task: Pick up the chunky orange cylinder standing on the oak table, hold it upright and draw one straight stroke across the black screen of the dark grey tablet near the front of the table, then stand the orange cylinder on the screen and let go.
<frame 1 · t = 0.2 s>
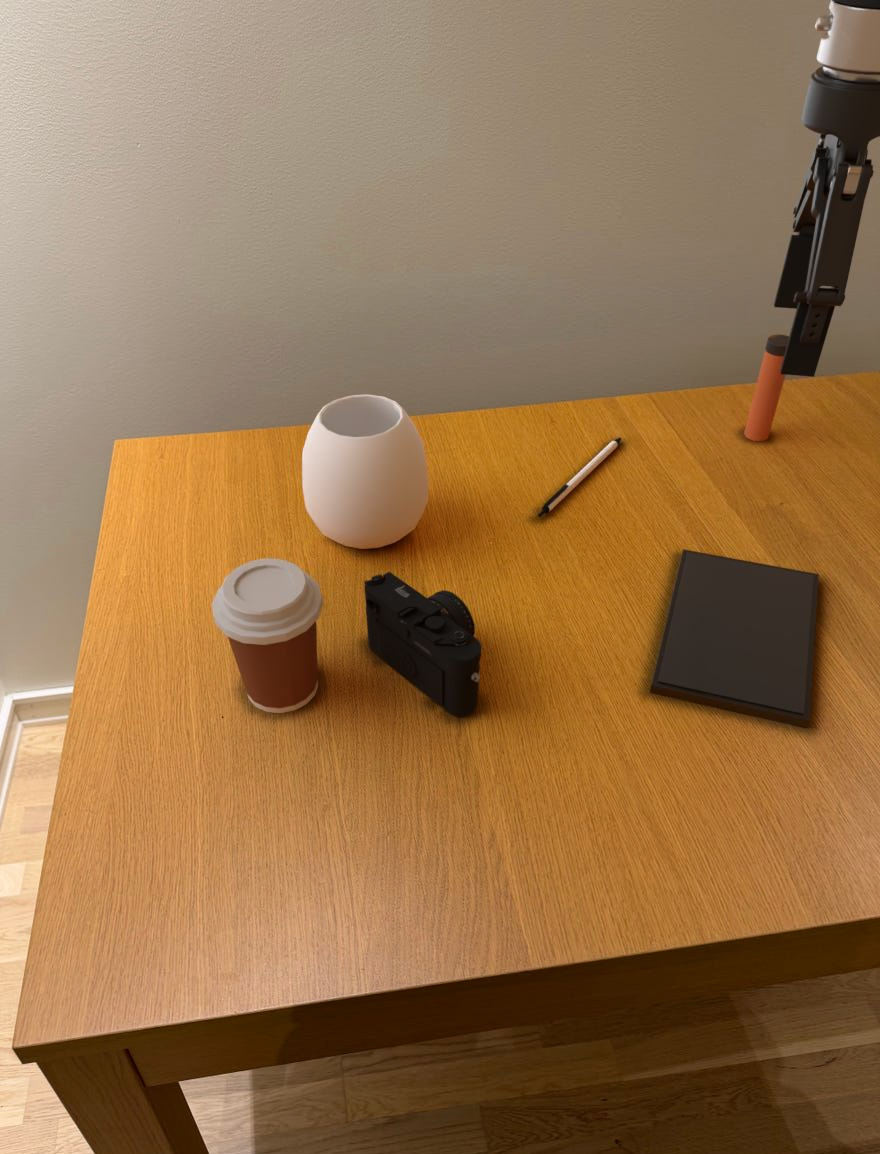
hand: (792, 338, 84), 21 cm above the table, tool pointing down, fingers open, 13 cm apart
orange cylinder: (756, 435, 110), on the table
white vase: (368, 527, 100), on the table
pen: (581, 479, 105), on the table
camera: (435, 667, 84), on the table
tablet: (737, 633, 85), on the table
coffee cup: (282, 687, 83), on the table
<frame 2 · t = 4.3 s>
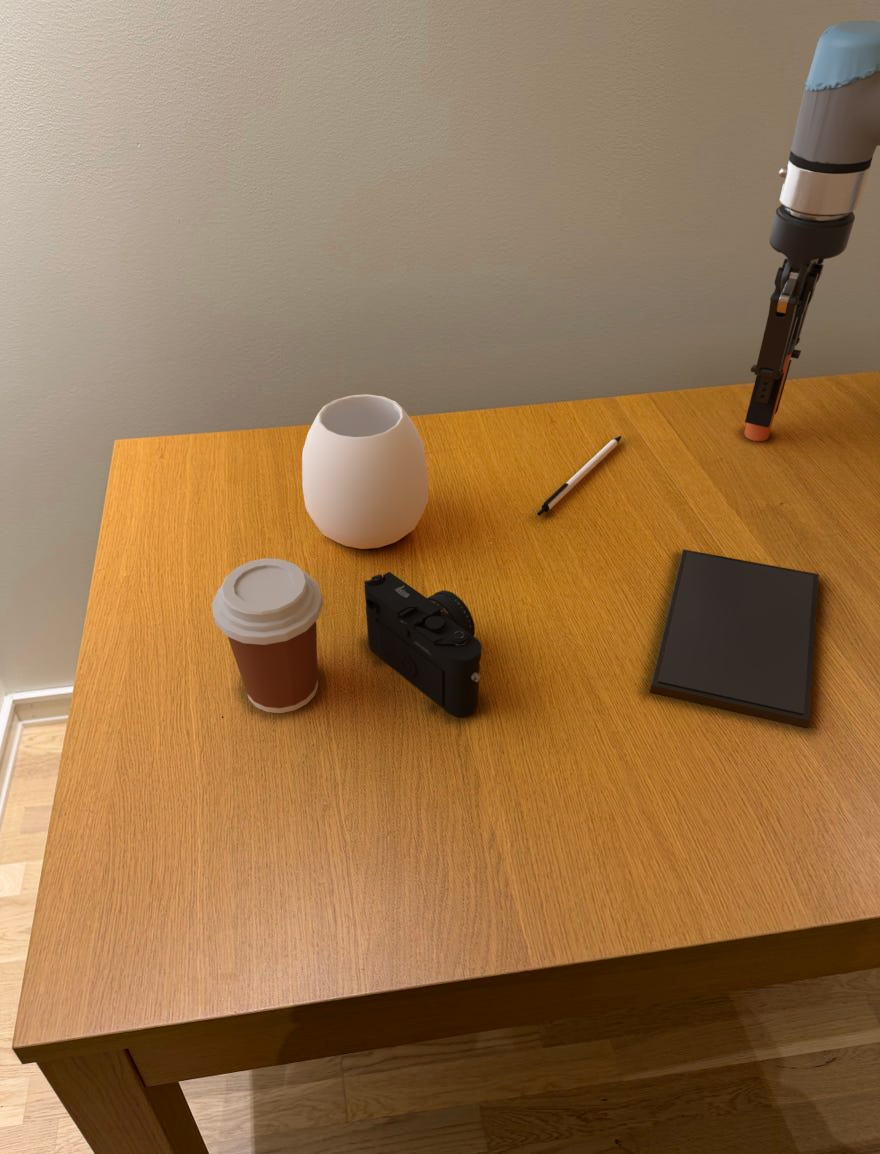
hand: (761, 416, 108), 3 cm above the table, tool pointing down, fingers closed on orange cylinder, 3 cm apart
orange cylinder: (756, 435, 110), on the table, touching gripper
everything else where it was.
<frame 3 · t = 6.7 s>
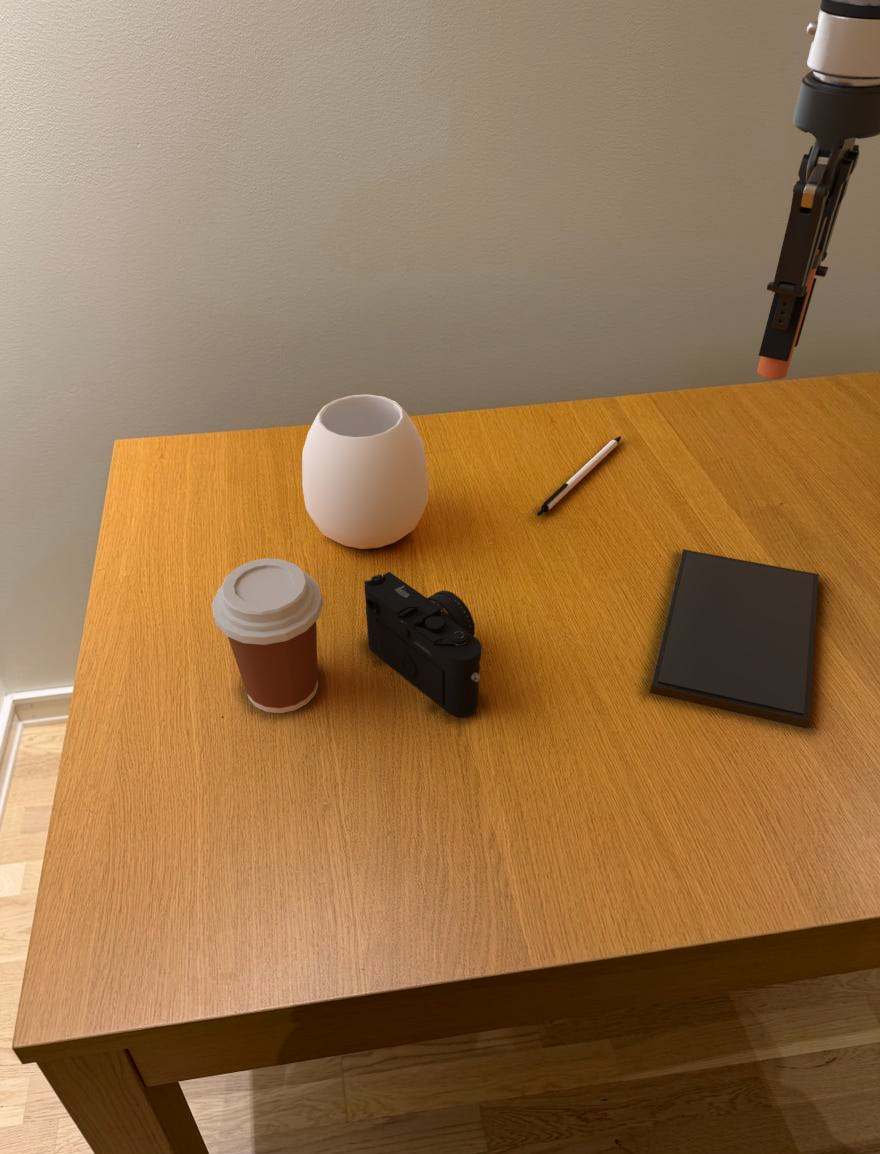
hand: (778, 349, 90), 17 cm above the table, tool pointing down, fingers closed on orange cylinder, 3 cm apart
orange cylinder: (771, 373, 92), point 14 cm above the table, touching gripper
everything else where it was.
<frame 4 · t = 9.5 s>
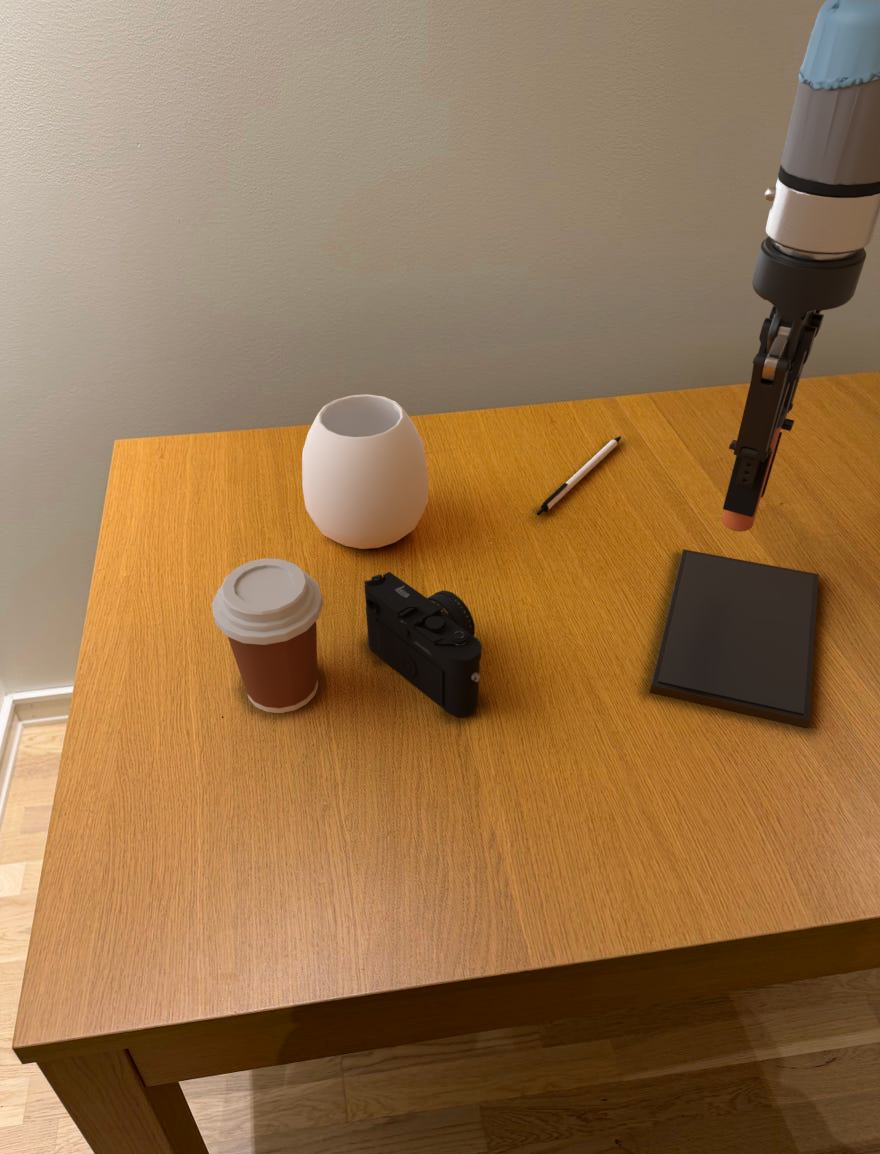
hand: (743, 500, 85), 9 cm above the table, tool pointing down, fingers closed on orange cylinder, 3 cm apart
orange cylinder: (737, 522, 87), point 7 cm above the table, touching gripper
everything else where it was.
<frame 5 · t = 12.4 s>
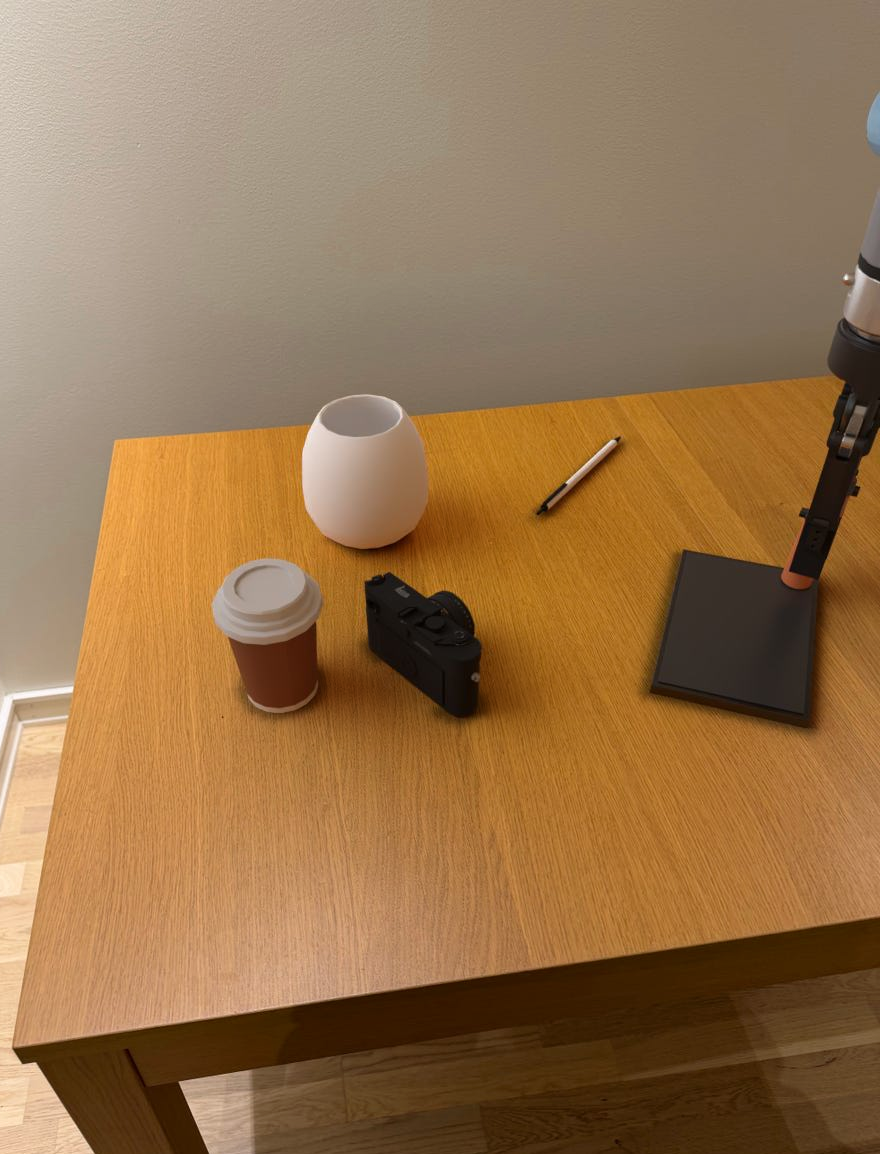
hand: (808, 562, 87), 4 cm above the table, tool pointing down, fingers closed on orange cylinder, 3 cm apart
orange cylinder: (796, 580, 89), point 1 cm above the table, touching gripper
everything else where it was.
when the fingers open (4 cm above the table, at t = 14.7 s): orange cylinder stays where it is, resting on tablet.
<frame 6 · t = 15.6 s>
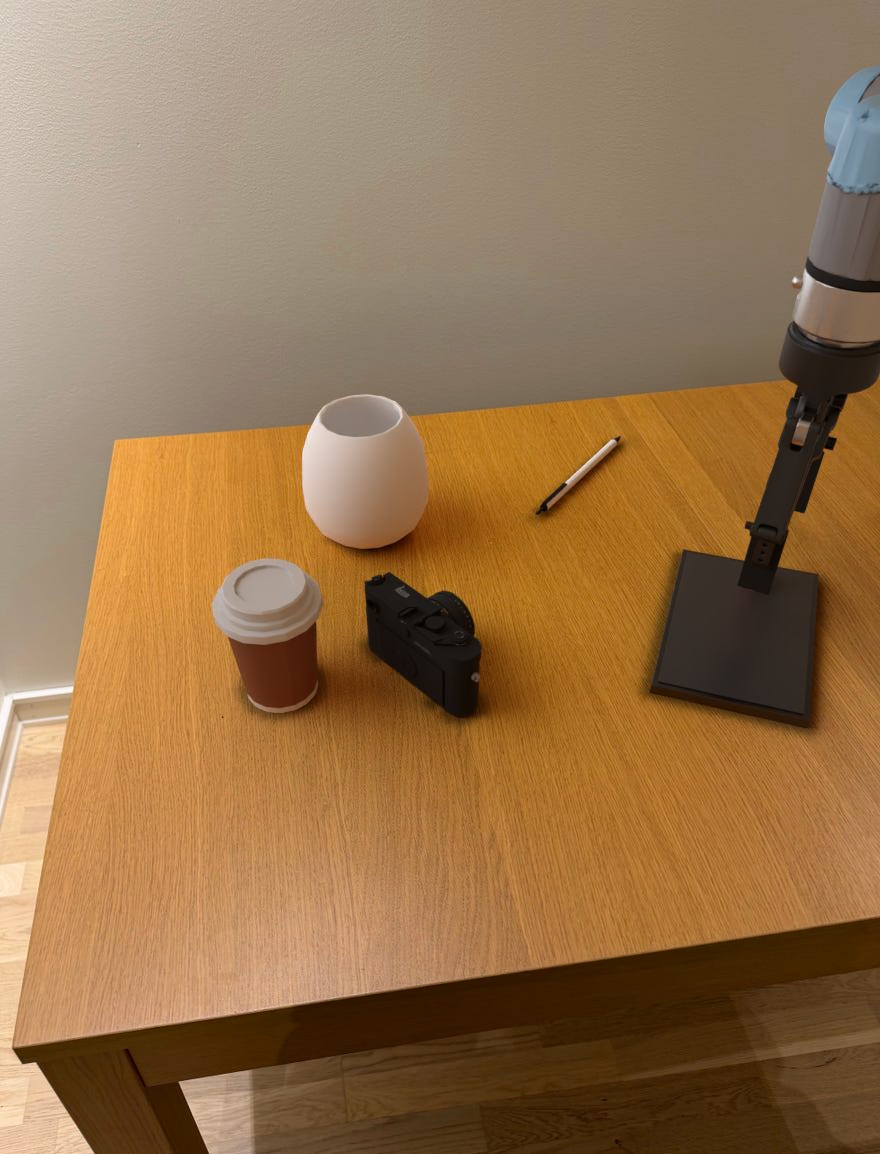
hand: (772, 546, 86), 6 cm above the table, tool pointing down, fingers open, 13 cm apart
orange cylinder: (754, 582, 89), point 1 cm above the table, touching tablet
everything else where it was.
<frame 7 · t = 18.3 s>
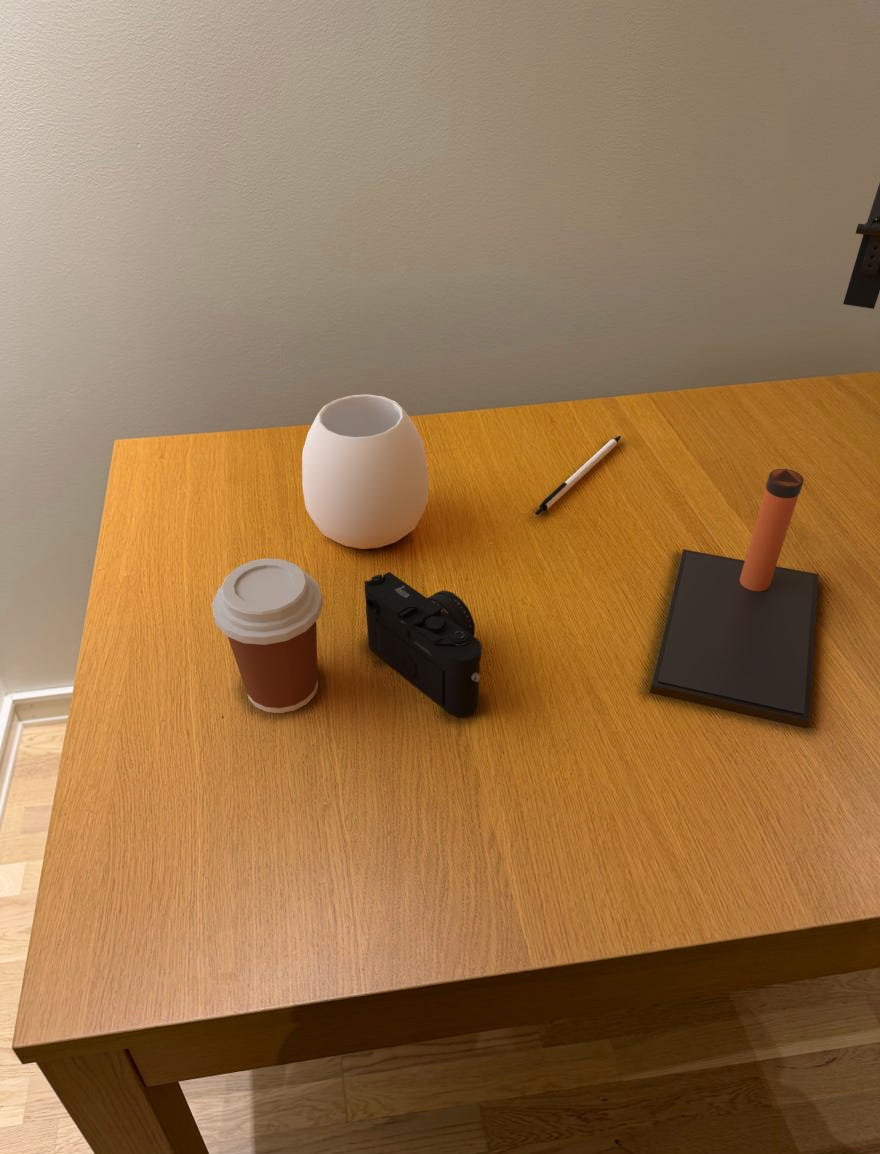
hand: (870, 278, 90), 22 cm above the table, tool pointing down, fingers open, 13 cm apart
nothing on the table moved.
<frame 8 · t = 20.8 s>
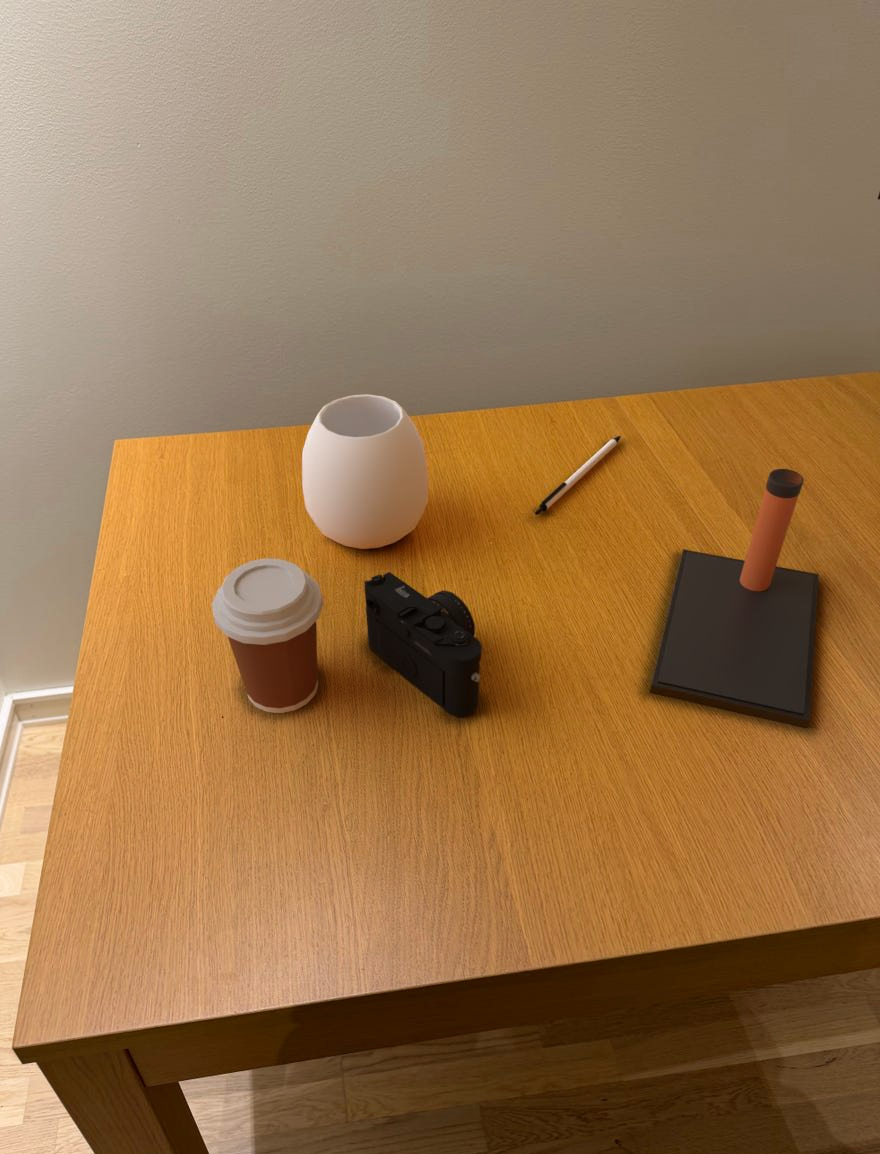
nothing on the table moved.
at the end: orange cylinder inside the target area on the tablet (6.7 cm from its centre), point 1.1 cm above the tablet's base; orange cylinder moved 29.6 cm from its start; the gripper is holding nothing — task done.
